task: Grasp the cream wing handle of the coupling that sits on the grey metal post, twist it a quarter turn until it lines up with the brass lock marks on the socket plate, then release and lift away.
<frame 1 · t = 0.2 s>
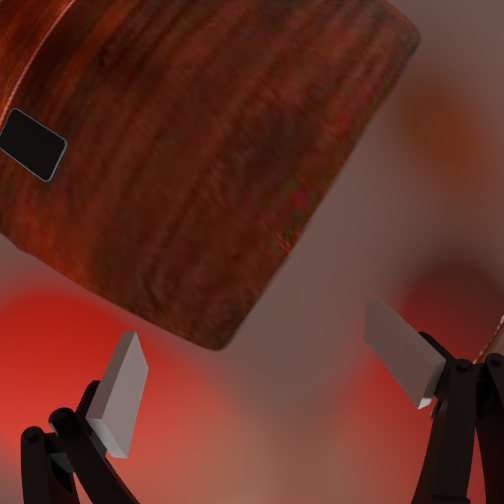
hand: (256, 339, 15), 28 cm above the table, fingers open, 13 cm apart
smartphone: (31, 143, 34), on the table
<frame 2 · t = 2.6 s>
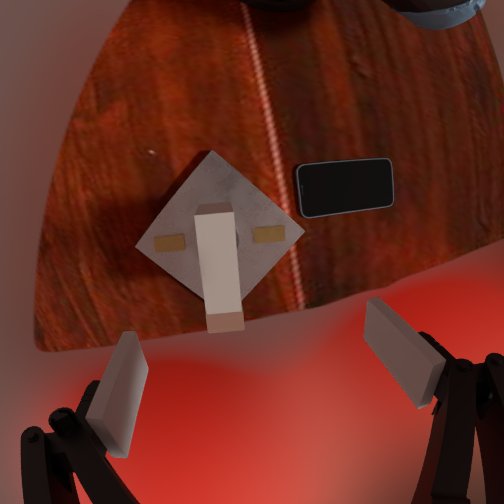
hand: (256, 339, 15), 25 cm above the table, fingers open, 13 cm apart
smartphone: (346, 185, 40), on the table
socket: (219, 235, 39), on the table
coupling: (219, 262, 29), point 11 cm above the table, hinge at 0.0°
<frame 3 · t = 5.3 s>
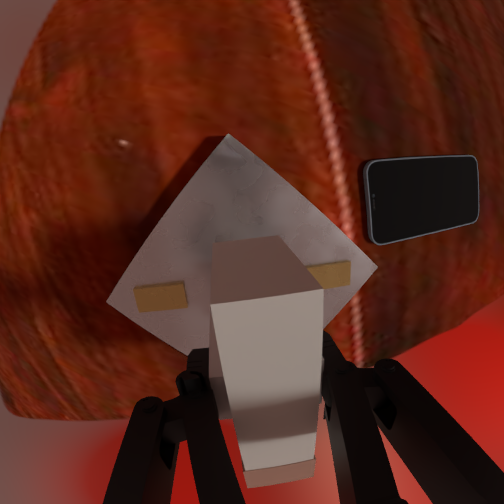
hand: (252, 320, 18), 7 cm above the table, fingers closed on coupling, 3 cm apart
smartphone: (427, 193, 24), on the table
socket: (242, 279, 24), on the table
coupling: (262, 362, 13), point 11 cm above the table, hinge at 0.0°, touching gripper
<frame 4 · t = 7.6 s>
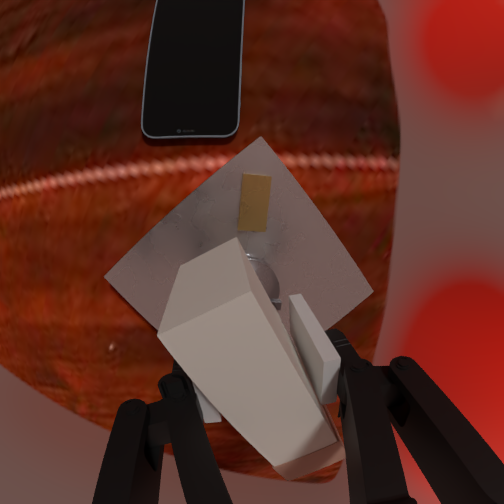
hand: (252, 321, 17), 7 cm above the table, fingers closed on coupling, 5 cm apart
smartphone: (195, 51, 19), on the table
socket: (243, 280, 24), on the table
coupling: (262, 361, 14), point 11 cm above the table, hinge at 57.9°, touching gripper
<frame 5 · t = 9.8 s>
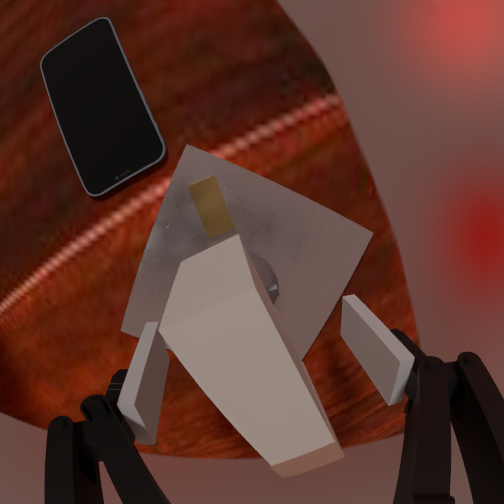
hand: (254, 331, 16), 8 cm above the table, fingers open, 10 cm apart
smartphone: (97, 100, 19), on the table
socket: (242, 278, 24), on the table
coupling: (261, 359, 14), point 11 cm above the table, hinge at 85.8°
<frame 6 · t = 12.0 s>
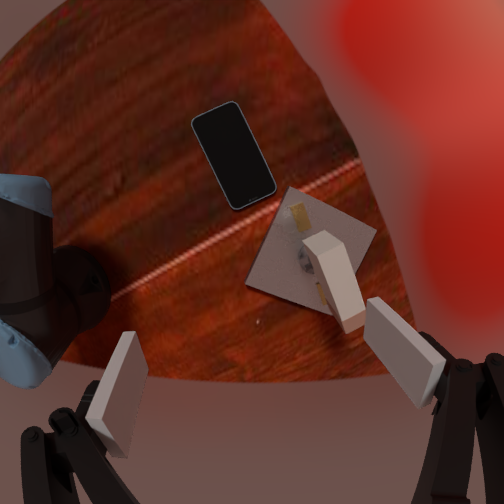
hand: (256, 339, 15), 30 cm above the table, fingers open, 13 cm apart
smartphone: (233, 154, 41), on the table
socket: (311, 253, 46), on the table
coupling: (334, 278, 35), point 11 cm above the table, hinge at 85.8°
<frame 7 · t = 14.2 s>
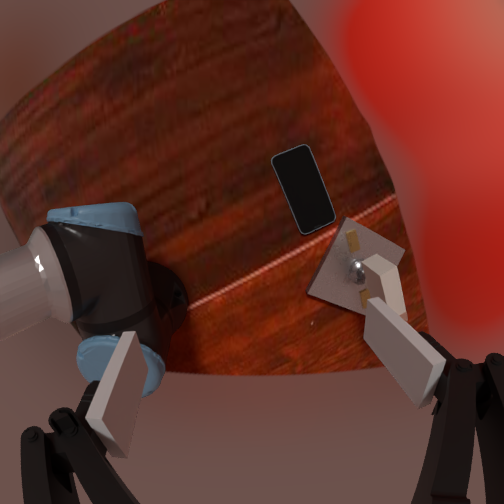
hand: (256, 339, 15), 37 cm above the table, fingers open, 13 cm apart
smartphone: (303, 189, 51), on the table
socket: (356, 268, 56), on the table
coupling: (383, 289, 46), point 11 cm above the table, hinge at 85.8°
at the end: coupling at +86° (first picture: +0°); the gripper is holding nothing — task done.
